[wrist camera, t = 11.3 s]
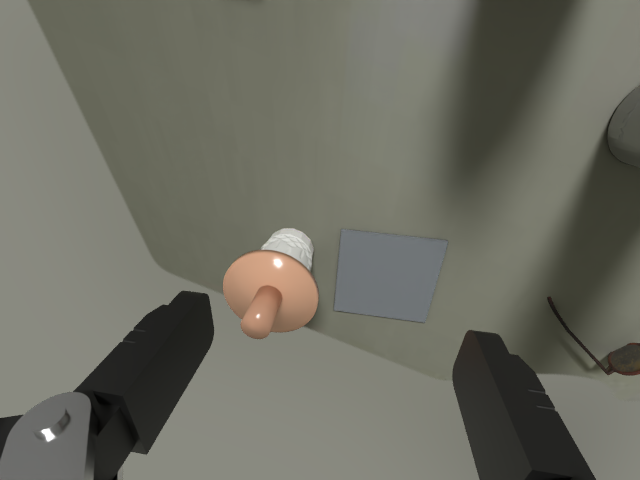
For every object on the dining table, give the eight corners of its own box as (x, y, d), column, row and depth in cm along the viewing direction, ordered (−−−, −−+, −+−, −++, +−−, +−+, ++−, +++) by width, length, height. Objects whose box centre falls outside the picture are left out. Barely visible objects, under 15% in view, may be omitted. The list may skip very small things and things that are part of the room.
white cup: (299, 279, 46) (283, 326, 37) (255, 251, 45) (228, 293, 36) (328, 244, 43) (318, 287, 34) (281, 213, 41) (258, 248, 33)
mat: (447, 240, 40) (448, 242, 39) (424, 320, 46) (425, 322, 46) (341, 229, 41) (341, 230, 41) (334, 308, 48) (333, 310, 47)
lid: (321, 256, 32) (312, 290, 27) (316, 332, 37) (307, 373, 32) (222, 243, 33) (194, 274, 28) (230, 319, 38) (208, 357, 33)
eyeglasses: (593, 357, 46) (617, 387, 42) (538, 298, 42) (558, 324, 38) (711, 309, 40) (754, 337, 35) (658, 235, 36) (698, 257, 32)
